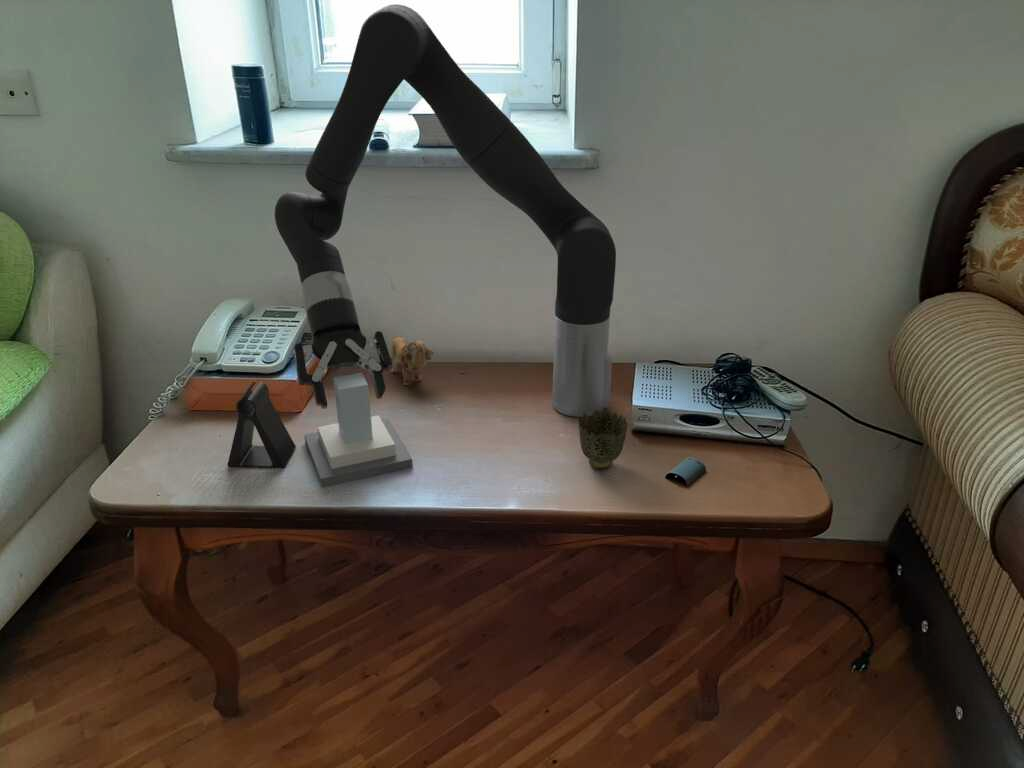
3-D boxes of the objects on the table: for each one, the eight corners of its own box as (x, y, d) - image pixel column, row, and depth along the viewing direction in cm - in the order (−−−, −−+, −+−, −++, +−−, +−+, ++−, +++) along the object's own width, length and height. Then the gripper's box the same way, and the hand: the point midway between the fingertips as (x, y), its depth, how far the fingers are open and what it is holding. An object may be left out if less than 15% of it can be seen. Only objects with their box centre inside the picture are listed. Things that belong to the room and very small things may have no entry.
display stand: (388, 425, 133) (387, 407, 131) (412, 467, 121) (411, 447, 120) (305, 442, 128) (302, 423, 126) (321, 487, 117) (319, 467, 115)
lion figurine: (438, 386, 146) (436, 341, 142) (413, 393, 144) (410, 348, 140) (400, 359, 157) (397, 317, 153) (376, 366, 154) (372, 323, 150)
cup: (593, 483, 117) (595, 437, 114) (567, 460, 123) (569, 415, 120) (634, 471, 121) (637, 425, 117) (607, 448, 126) (610, 405, 123)
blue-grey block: (366, 425, 126) (361, 372, 122) (372, 438, 122) (367, 384, 118) (339, 431, 124) (333, 377, 120) (344, 444, 121) (338, 389, 116)
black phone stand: (296, 448, 126) (286, 381, 121) (285, 468, 121) (274, 400, 116) (241, 447, 127) (229, 380, 121) (227, 467, 121) (214, 398, 116)
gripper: (284, 302, 118) (306, 403, 114) (377, 290, 123) (401, 385, 119) (283, 323, 125) (304, 418, 121) (371, 310, 130) (394, 401, 126)
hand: (352, 402), depth 120 cm, fingers open, 8 cm apart
